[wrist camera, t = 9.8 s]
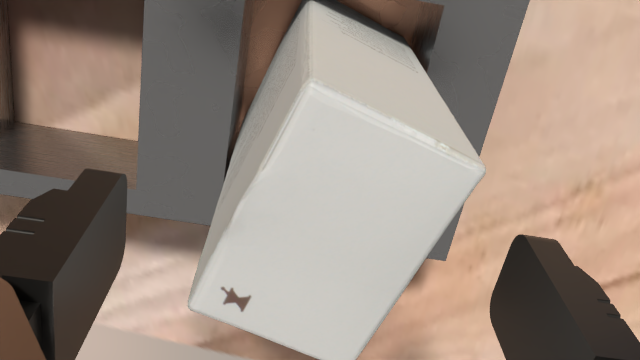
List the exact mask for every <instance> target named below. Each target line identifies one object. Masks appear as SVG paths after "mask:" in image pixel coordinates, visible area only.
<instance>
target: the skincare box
mask: <svg viewBox="0 0 640 360" xmlns="http://www.w3.org/2000/svg"><path fill="white" fill-rule="evenodd" d="M485 173H486V168H485V166H484V164H483V163H482V161H481V159H480V158H479V156H478V154H477V153H476V151H475V149H474V148H473V146H472V145H471V143H470V142H469V140H468V139H467V137H466V135H465V134H464V132H463V131H462V129H461V127H460V126H459V124H458V123H457V121H456V120H455V118H454V116H453V114H452V113H451V112H450V110H449V108H448V107H447V105H446V104H445V102H444V101H443V99H442V98H441V96H440V94H439V93H438V91H437V90H436V88H435V86H434V85H433V83H432V81H431V80H430V78H429V77H428V75H427V73H426V72H425V70H424V69H423V67H422V66H421V64H420V62H419V61H418V59H417V57H416V56H415V54H414V53H413V51H412V49H411V48H410V46H409V45H408V43H407V41H406V40H405V38H404V37H402V36H400V35H399V34H397V33H394V32H392V31H390V30H389V29H387V28H385V27H383V26H382V25H380V24H378V23H376V22H374V21H373V20H371V19H369V18H367V17H365V16H364V15H362V14H360V13H358V12H356V11H355V10H353V9H351V8H349V7H348V6H346V5H344V4H342V3H340V2H338V1H337V0H302V1H301V3H300V5H299V7H298V9H297V11H296V13H295V15H294V17H293V19H292V21H291V23H290V25H289V27H288V29H287V31H286V33H285V35H284V37H283V39H282V41H281V43H280V45H279V47H278V49H277V51H276V53H275V56H274V58H273V60H272V62H271V64H270V66H269V68H268V70H267V72H266V74H265V76H264V78H263V80H262V83H261V85H260V87H259V89H258V91H257V93H256V95H255V97H254V99H253V101H252V103H251V105H250V108H249V110H248V112H247V114H246V116H245V118H244V120H243V122H242V125H241V129H240V132H239V135H238V138H237V141H236V144H235V148H234V151H233V154H232V157H231V161H230V165H229V168H228V171H227V174H226V178H225V181H224V184H223V187H222V191H221V194H220V197H219V200H218V203H217V206H216V210H215V213H214V216H213V219H212V223H211V226H210V229H209V232H208V236H207V239H206V242H205V245H204V248H203V251H202V254H201V257H200V260H199V263H198V267H197V271H196V273H195V277H194V280H193V284H192V288H191V292H190V295H189V299H188V308H189V309H190V310H191V311H194V312H197V313H200V314H202V315H205V316H208V317H210V318H213V319H216V320H218V321H221V322H224V323H226V324H229V325H232V326H234V327H237V328H239V329H242V330H245V331H247V332H250V333H252V334H255V335H258V336H260V337H263V338H265V339H268V340H270V341H273V342H275V343H278V344H280V345H283V346H285V347H288V348H291V349H293V350H296V351H298V352H301V353H303V354H306V355H308V356H311V357H314V358H316V359H319V360H356V359H357V357H358V356H359V355H360V353H361V352H362V350H363V349H364V348H365V346H366V345H367V343H368V342H369V341H370V339H371V338H372V336H373V335H374V333H375V332H376V330H377V329H378V328H379V326H380V325H381V323H382V322H383V320H384V319H385V318H386V316H387V315H388V313H389V312H390V310H391V309H392V307H393V306H394V305H395V303H396V302H397V300H398V299H399V297H400V296H401V294H402V293H403V291H404V290H405V289H406V287H407V286H408V284H409V283H410V281H411V280H412V278H413V277H414V275H415V274H416V272H417V271H418V269H419V268H420V266H421V265H422V263H423V262H424V260H425V259H426V257H427V256H428V254H429V253H430V252H431V250H432V249H433V247H434V246H435V244H436V243H437V241H438V240H439V239H440V237H441V236H442V234H443V233H444V231H445V230H446V228H447V227H448V225H449V224H450V223H451V221H452V220H453V218H454V217H455V215H456V214H457V212H458V211H459V210H460V208H461V207H462V205H463V204H464V202H465V201H466V200H467V198H468V197H469V195H470V194H471V192H472V191H473V190H474V188H475V187H476V185H477V184H478V183H479V181H480V180H481V179H482V178H483V177H484V175H485Z"/></svg>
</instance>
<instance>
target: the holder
mask: <svg viewBox="0 0 640 360" xmlns="http://www.w3.org/2000/svg"><path fill="white" fill-rule="evenodd" d="M301 1H302V0H144V21H143V44H142V67H141V90H140V113H139V136H138V141H132V140H126V139H119V138H113V137H107V136H101V135H94V134H88V133H82V132H76V131H69V130H63V129H57V128H50V127H44V126H38V125H32V124H25V123H19V122H14V112H13V94H12V76H11V58H10V40H9V22H8V4H7V0H0V194H3V195H9V196H16V197H23V198H29V199H34V198H36V197H38V196H40V195H42V194H44V193H46V192H48V191H50V190H52V189H53V188H54V189H61V190H69V188H70V187H71V186H72V184H73V183H74V182H75V181H76V179H77V178H78V177H79V176H80V174H81V173H82V172H83V171H84V169H86V168H89V169H96V170H102V171H109V172H116V173H122V174H125V175H126V177H127V211H126V213H129V214H136V215H143V216H149V217H156V218H163V219H169V220H176V221H183V222H189V223H196V224H203V225H209V226H211V223H212V219H213V216H214V213H215V210H216V206H217V203H218V200H219V197H220V194H221V191H222V187H223V184H224V181H225V178H226V174H227V171H228V168H229V165H230V161H231V157H232V154H233V151H234V148H235V144H236V141H237V138H238V135H239V132H240V129H241V125H242V122H243V120H244V118H245V116H246V114H247V112H248V110H249V108H250V105H251V103H252V101H253V99H254V97H255V95H256V93H257V91H258V89H259V87H260V85H261V83H262V80H263V78H264V76H265V74H266V72H267V70H268V68H269V66H270V64H271V62H272V60H273V58H274V56H275V53H276V51H277V49H278V47H279V45H280V43H281V41H282V39H283V37H284V35H285V33H286V31H287V29H288V27H289V25H290V23H291V21H292V19H293V17H294V15H295V13H296V11H297V9H298V7H299V5H300V3H301ZM337 1H338V2H340V3H342V4H344V5H346V6H348V7H349V8H351V9H353V10H355V11H356V12H358V13H360V14H362V15H364V16H365V17H367V18H369V19H371V20H373V21H374V22H376V23H378V24H380V25H382V26H383V27H385V28H387V29H389V30H390V31H392V32H394V33H397V34H399V35H400V36H402V37H404V38H405V40H406V41H407V43H408V45H409V46H410V48H411V49H412V51H413V53H414V54H415V56H416V57H417V59H418V61H419V62H420V64H421V66H422V67H423V69H424V70H425V72H426V73H427V75H428V77H429V78H430V80H431V81H432V83H433V85H434V86H435V88H436V90H437V91H438V93H439V94H440V96H441V98H442V99H443V101H444V102H445V104H446V105H447V107H448V108H449V110H450V112H451V113H452V114H453V116H454V118H455V120H456V121H457V123H458V124H459V126H460V127H461V129H462V131H463V132H464V134H465V135H466V137H467V139H468V140H469V142H470V143H471V145H472V146H473V148H474V149H475V151H476V153H477V154H478V156H480V153H481V150H482V147H483V143H484V140H485V137H486V134H487V131H488V128H489V125H490V122H491V119H492V116H493V112H494V109H495V106H496V103H497V100H498V97H499V94H500V91H501V88H502V85H503V81H504V78H505V75H506V72H507V69H508V66H509V63H510V60H511V57H512V54H513V51H514V47H515V44H516V41H517V38H518V35H519V32H520V29H521V26H522V23H523V20H524V16H525V13H526V10H527V7H528V4H529V1H530V0H337ZM463 205H464V204H463ZM463 205H462V207H461V208H460V210H459V211H458V212H457V214H456V215H455V217H454V218H453V220H452V221H451V223H450V224H449V225H448V227H447V228H446V230H445V231H444V233H443V234H442V236H441V237H440V239H439V240H438V241H437V243H436V244H435V246H434V247H433V249H432V250H431V252H430V253H429V254H428V256H427V257H426V258H429V259H436V260H442V261H446V258H447V255H448V252H449V249H450V246H451V243H452V239H453V236H454V233H455V230H456V227H457V224H458V221H459V218H460V215H461V212H462V208H463Z"/></svg>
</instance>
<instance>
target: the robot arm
mask: <svg viewBox="0 0 640 360" xmlns="http://www.w3.org/2000/svg"><path fill="white" fill-rule="evenodd" d="M126 211H127V177H126V175H125V174H122V173H116V172H109V171H102V170H96V169H89V168H86V169H84V171H83V172H82V173H81V174H80V176H79V177H78V178H77V179H76V181H75V182H74V183H73V184H72V186H71V187H70V188H69V190H61V189H54V188H53V189H52V190H50V191H48V192H46V193H44V194H42V195H40V196H38V197H36V198H34V199H32V200H30V202H29V203H28V204H27V205H26V206H25V207H24V208H23V210H22V211H21V212H20V213H19V214H18V217H17V218H15V219H14V220H13V221H12V222H11V223H10V224H9V226H8V227H7V228H6V231H3V232H2V234H1V235H0V360H75V358H76V356H77V354H78V352H79V350H80V348H81V346H82V344H83V342H84V340H85V338H86V336H87V334H88V332H89V330H90V328H91V326H92V324H93V322H94V320H95V318H96V316H97V314H98V312H99V310H100V308H101V306H102V304H103V302H104V300H105V298H106V296H107V294H108V292H109V290H110V288H111V286H112V284H113V282H114V280H115V278H116V276H117V273H118V271H119V269H120V266H121V263H122V259H123V255H124V249H125V240H126ZM620 316H621V315H620V314H619V312H618V311H617V309H616V308H615V306H614V305H613V304H610V299H609V298H608V296H607V295H606V294H605V292H604V291H603V289H602V288H601V286H600V285H599V284H598V283H597V282H596V281H595V280H594V279H593V278H591V277H590V276H589V275H588V274H586V273H585V272H584V271H583V270H582V269H580V268H579V267H578V266H574V264H573V263H572V261H571V260H570V259H569V257H568V256H567V254H566V253H565V251H564V250H563V248H562V247H561V245H560V244H559V242H558V241H556V240H554V239H548V238H541V237H535V236H528V235H518V236H516V237H515V239H514V240H513V242H512V244H511V246H510V249H509V251H508V254H507V257H506V259H505V262H504V264H503V267H502V270H501V272H500V275H499V277H498V280H497V283H496V285H495V288H494V290H493V293H492V297H491V302H490V318H491V323H492V326H493V328H494V331H495V333H496V336H497V338H498V341H499V343H500V346H501V348H502V351H503V353H504V356H505V358H506V360H640V342H639V341H638V339H637V338H636V336H635V335H634V334H633V332H632V331H631V329H630V328H629V326H628V325H627V324H626V322H625V321H624V319H620Z"/></svg>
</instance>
